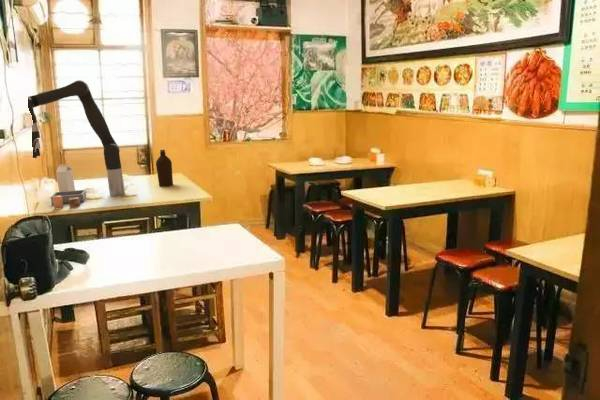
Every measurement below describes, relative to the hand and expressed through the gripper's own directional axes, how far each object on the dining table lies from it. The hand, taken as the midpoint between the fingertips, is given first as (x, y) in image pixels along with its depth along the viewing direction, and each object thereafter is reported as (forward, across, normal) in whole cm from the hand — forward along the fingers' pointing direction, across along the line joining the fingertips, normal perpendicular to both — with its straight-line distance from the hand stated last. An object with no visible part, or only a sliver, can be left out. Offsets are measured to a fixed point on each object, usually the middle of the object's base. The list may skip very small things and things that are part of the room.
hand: (36, 157), depth 303 cm
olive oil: (+29, +18, -74) cm, 82 cm away
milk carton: (+29, +23, -9) cm, 38 cm away
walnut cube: (+29, -22, -22) cm, 42 cm away
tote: (+28, -6, -16) cm, 33 cm away
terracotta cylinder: (+28, -22, -12) cm, 38 cm away
